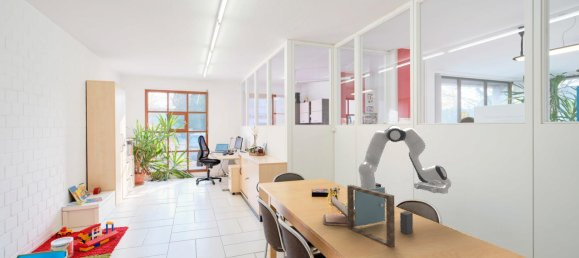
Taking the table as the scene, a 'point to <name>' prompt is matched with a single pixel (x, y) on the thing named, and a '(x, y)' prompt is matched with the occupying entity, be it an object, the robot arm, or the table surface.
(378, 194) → the door frame
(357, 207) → the door
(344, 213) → the case
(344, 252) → the table surface
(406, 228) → the dark blue-gray block
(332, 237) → the table surface
